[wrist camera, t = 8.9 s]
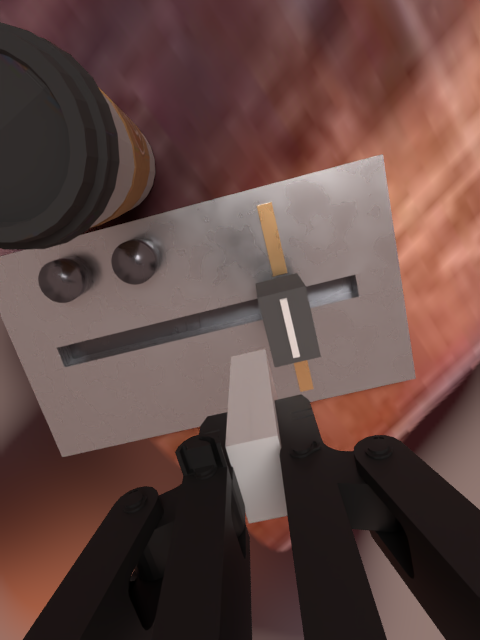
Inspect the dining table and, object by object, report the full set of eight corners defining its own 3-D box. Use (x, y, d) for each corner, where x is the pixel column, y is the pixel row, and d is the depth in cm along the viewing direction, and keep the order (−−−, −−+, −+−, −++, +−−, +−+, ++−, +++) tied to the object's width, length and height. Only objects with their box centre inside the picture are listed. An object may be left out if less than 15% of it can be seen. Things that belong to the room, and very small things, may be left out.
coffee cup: (195, 178, 29) (150, 164, 15) (107, 250, 31) (-10, 299, 17) (116, 72, 28) (-23, -60, 13) (26, 153, 29) (-185, 115, 15)
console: (-3, 257, 31) (-42, 267, 27) (371, 157, 29) (393, 151, 25) (74, 439, 36) (51, 473, 31) (403, 365, 33) (427, 390, 29)
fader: (254, 274, 30) (257, 298, 24) (292, 265, 30) (306, 286, 23) (268, 330, 32) (274, 368, 25) (304, 321, 31) (321, 358, 25)
